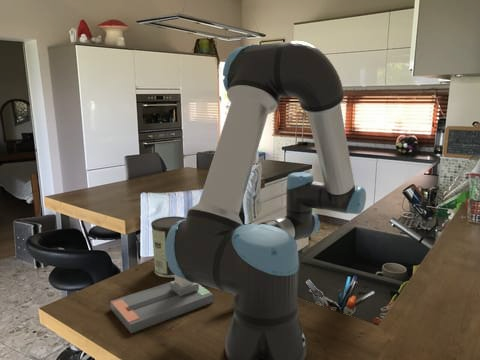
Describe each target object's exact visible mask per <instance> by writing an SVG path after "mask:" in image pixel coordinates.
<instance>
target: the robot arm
mask: <svg viewBox="0 0 480 360" xmlns="http://www.w3.org/2000/svg"><path fill="white" fill-rule="evenodd" d="M222 76H223V77H224V78H223V79H222V82H223V86H224V89H225V92H226V98H227V99H228V101H229V102H230V105H229V107H228V111H227V113H226V118H225V121H224V123H223V127H222V130H221V133H220V136H219V138H218V143H217V146H216V149H215V152H214V155H213V158H212V160H211V164H210V167H209V170H208V173H207V175H206V176H207V177H206V179H205V181H204V182H205V183H204V185H203V188H202V192H201V195H200V199H199V201H198V203H197V204H196V205H194V206H191V207H190V208H188V210H187V211H188V212H187V215H186V217H185V218H186V219H183V220H180V221H178V222H176V223H175V225H173V226H172V227H171V229H170V230H169V232H168V235H167V238H166V243H165V257H166V261H167V262H168V266H169V268H170V270H171V271H172V272H173V273H174V274H175V275H177V276H179V277H181V278H184V279H186V280H187V281H189V282H192V283H198V284H199V285H201V286H205V287H209V288H212V289H214V290H215V289H216V290H218V291H221V292H225V293H228V294H231V295H233V315H232V318H231V322H230V326H229V329H228V331H227V333H226V336H225V347H224V348H225V355H226V358H227V360H306V357H307V340H306V336H305V334H304V331H303V327H302V324H301V321H300V317H299V315H298V299H299V298H298V293H299V292H298V289H299V287H298V286H299V267H300V260H299V250H298V249H299V248H298V243H297V241H298V240H302V239H307V238H309V237H311V236H313V235H314V234H316V233H317V232H319V229H320V227H321V222H320V220H319V216H318V214H317V213H316V212H314V210H313V209H317V210H324V211H330V212H335V213H336V212H337V213H340V214H341V213H342V214H350V215H353V214H354V215H359V214H361V213H362V212H363V211H364V209H365V206H366V200H367V192H366V189H365V187H363V186H359V185H355V180H354V174H353V168H352V163H351V162H352V161H351V157H350V152H349V146H348V145H349V144H348V140H347V134H346V128H345V123H344V122H345V121H344V118H343V117H344V116H343V110H342V105H341V103H342V102H344V100H345V99H344V98H345V94H344V89H343V87H344V86H343V83H342V81H341V78H340V75H339V73H338V71H337V69H336V68H335V66H334V65H333V64H332V62H331V60H330V59H329V58H328V57H327V55H325V54H324V52H322V50H320V49H319V48H317V47H316V46H315V45H313V44H311V43H308V42H305V41H302V40H290V41H289V40H288V41H282V42H273V43H265V44H264V43H263V44H254V43H253V44H248V45H244V46H240V47H237V48H235V49H234V50H232V52H231V53H230V54H229V55H228V56H227V58H226V60H225V63H224V66H223V70H222ZM282 98H296V99H298V100H299V106H300V108H301V110H303V111H304V112H306V114H307V118H308V122H309V125H310V130H311V134H312V138H313V142H314V146H315V150H316V155H317V158H318V162H319V163H318V164H319V167H320V171H321V175H322V177H323V178H322V179H323V182H320V181H314V175H313V174H312V173H309V172H304V171H303V172H302V171H299V172H292V173H290V174H288V175H287V177H286V188H285V190H286V197H285V198H286V200H285V201H286V206H285V207H286V212H285V213H286V215H285V216H281V217H277V218H273V219H271V220H265V221H262V222H259V224H257V223H247V224H243V222H242V220H241V218H240V212H241V208H242V205H243V201H244V198H245V196H246V195H245V194H246V191H247V187H248V185H249V181H250V178H251V174H252V171H253V166H254V163H255V160H256V157H257V154H258V153H257V152H258V149H259V147H260V142H261V140H262V136H263V133H264V130H265V129H264V128H265V125H266V124H267V123H266V122H267V118H268V115H270V114H272V113H275V111H276V110H277V109H278V104H279V102H280V99H282Z"/></svg>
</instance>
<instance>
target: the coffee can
mask: <svg viewBox="0 0 480 360" xmlns="http://www.w3.org/2000/svg"><path fill="white" fill-rule="evenodd" d="M183 219H186V217H184V216H174V215H173V216H164V217H159V218H157V219H154V220H152V221H151V224H150V226H151V230H152V248H153V249H152V250H153V263H154V265H153V266H154V274H155V275H157V276H158V277H162V278H168V279H169V278H175V274H174V273H173V272H172V271H171V270H170V268H169V266H168V262H167V261H166V257H165V243H166V238H167V235H168V232H169V230H170V229H171V227H172V226H173V225H175V223H176V222H178V221H180V220H183Z"/></svg>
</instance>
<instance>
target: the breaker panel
mask: <svg viewBox="0 0 480 360" xmlns="http://www.w3.org/2000/svg"><path fill="white" fill-rule="evenodd" d="M170 282H171V281H170ZM170 282H165V283H162V284H159V285H157V286H156V285H155V286H153V287H151V288H147V289H144V290H141V291H138V292H134V293H131V294H128V295H126V296H122V297H120V298H119V297H118V298H116V299H112V300H109V301H110V302H109V303H110V309H111V311H112V313H113V314H114V315H115V316H116V318H118V319H119V320H120V322H121V323H122V324H123V326H124V327H125V328H126V330H128V331H129V333H130V334H134V333H137V332H139V331H142V330H145V329H146V328H149V327H152V326H154V325H155V326H156V325H157V324H159V323H162V322H166V321H168V320H170V319H173V318H175V317H178V316H180V315H184V314H187V313H189V312H191V311H194V310H196V309H199V308H202V307H205V306H207V305H209V304H212V303H214V294H213V293H212V292H211V291H209V290H208V289H206V288H205V287H204V286H203V285H201V284H199V290H197V291H194V292H191V293H188V294H185V295H183V296H179V295H178V294H177V293H175V292H174V291H173V290H172V289H171V288H170Z"/></svg>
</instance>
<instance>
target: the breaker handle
mask: <svg viewBox="0 0 480 360" xmlns="http://www.w3.org/2000/svg"><path fill="white" fill-rule="evenodd" d="M199 285H200V284H198V283H192V282H189V281H187V280H186V279H184V278H181V277H179V276H177V275H175V277H174V280H172V281H170V288H171V289H172V290H173V291H174V292H175V293H177V294H178V295H179V296H183V295H185V294H188V293H191V292H194V291H197V290H199Z"/></svg>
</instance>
